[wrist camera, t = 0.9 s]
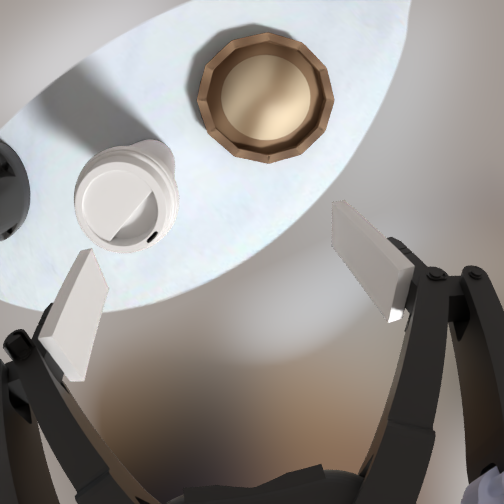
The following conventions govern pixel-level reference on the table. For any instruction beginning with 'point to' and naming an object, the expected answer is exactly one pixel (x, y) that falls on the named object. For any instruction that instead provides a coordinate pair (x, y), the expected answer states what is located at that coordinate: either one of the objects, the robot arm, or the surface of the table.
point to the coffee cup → (128, 196)
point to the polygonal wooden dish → (265, 98)
